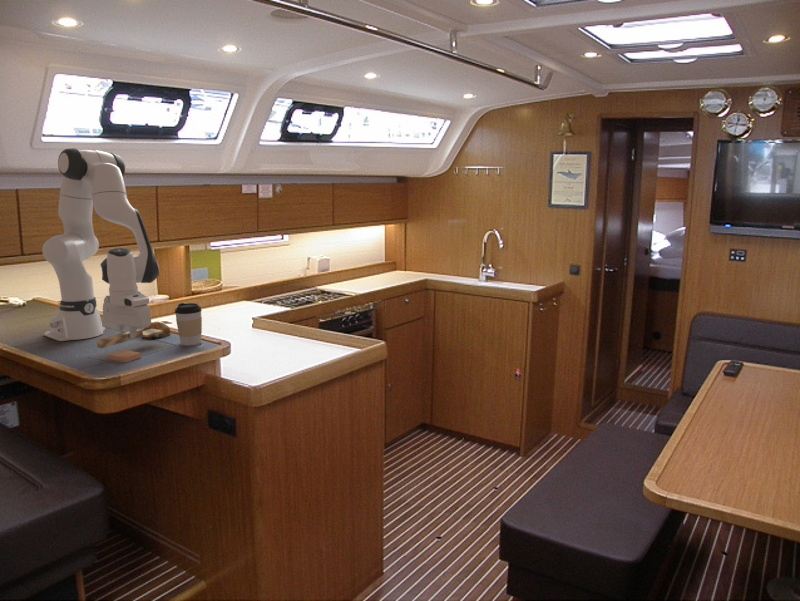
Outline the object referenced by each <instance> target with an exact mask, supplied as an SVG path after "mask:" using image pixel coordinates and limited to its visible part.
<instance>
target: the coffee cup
mask: <svg viewBox="0 0 800 601" xmlns="http://www.w3.org/2000/svg"><path fill="white" fill-rule="evenodd" d="M202 310H203V309H202V307H201V306H200V305H199V304H198V303H194V302H191V303H189V302H188V303H187V302H186V303H185V302H182V303H181V302H180V303H178V305H177V307H176V308H175V309H174V314H175V318H176V319H175V320H176V325H177V326H176V327H177V332H178V336H179V342H180V345H181V346H191V347H193V348H198V347H200V346H202V332H203V331H202V330H203V328H202V327H203V325H202V324H203V320H202Z"/></svg>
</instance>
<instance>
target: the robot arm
mask: <svg viewBox="0 0 800 601" xmlns="http://www.w3.org/2000/svg"><path fill="white" fill-rule="evenodd" d="M57 166H58V170H59V173H60V174H61V175H62V176H63V177H62V180H61V184H60V191H59V200H58V211H57V213H58V217H59V218H60V219H61V222H62V225H63V231H64V232H63V233H62V234H56V235H54V236H52V237H50V238H49V239H48V240H46V241H45V242H44V243H43V245H42V249H41V250H42V252H41V253H42V255H43V258H44V259H45V260H46V261H47V262H48V263H49V264H50V265H51V266H52V267H53V270H54V273H55V274H56V276H57V280H58V284H59V289H60V290H59V291H60V296H61V297H60V300H59V301H58V305H59V311H57V313H56V314H55V315H54V316H53V317H52V318H51V319H50V321H49V326H50V330H47V331H46V332H44V333H43V335H44V336H45V337H48V338H50V339H53V340H56V341H58V342H64V341H75V340H77V341H78V340H85V339H91V338H95V337H99V336H101V335H103V334H104V331H105V330H106V327H105V326H103V323H102V319H103V321H104V323H108V324H114V325H116V326H117V329H118V331H119V333H120V334H122V333H126V332H127V330H126V328H125V327H128V330H129V331H130V333H129V334H128V338H129V339H133V340H135V339H134V338H135V332H136V330H137V329H144V328H146V327H149V326H150V325H151V323H152V314H151V308H150V306H149V305H148V304H150V298H149V297H148V296H147V295H144V294H143V293H142V292H140V291H139V289H138V288H139V287H138V285H137V284H151V283H153V282H154V281H156V279H158V277H159V276H160V265H159V261H158V260H157V258H156V256H155V253H154V250H153V247H152V244H151V242H150V238H149V235H148V232H147V228H146V226H145V223H144V220H143V218H142V216H141V215H142V214H141V213H140V212H139V210H138V209H136V208H134V207H133V206H132V204H131V203H130V201H129V199H128V194H127V189H126V184H125V180H124V176H125V172H126V165H125V162H124V159H123V157H121V156H120V155H119V154H117V153H112V152H106V151H102V150H96V149H81V148H80V149H77V148H75V147H74V148H65V149H63V150H62V151H61V152H60V153H59V156H58V158H57ZM93 209H94V211H95V213H96V214H97V216H99V217H100V218H101V219H103V220H105V221H107V222H110V223H112V224H113V223H114V224H116V225H120V226H124V227H125V228H127V229H129V230H130V231H131V232H132V233H133V236H134V238H135V242H136V246H137V247H138V251H139V254H134V253H133V252H132V250H131V249H129V248H124V247H119V248H113V249H109V250H108V251H107V254H106V258H105V259H103V260H102V262H101V263H99V264H100V267H101V275H102V276H101V280H103V282H105V283H106V284H107V285H108V284H109V287H108V293H109V295H106V296H105V297H104V299H103V304H102V318H101V313H100V311H99V309H98V308H97V298H96V297H95V293H94V284H93V277H92V276H91V275H90V274H89V273H88V272H87V270H86V267H85V266H84V262H83V261H85V260H87V259H90V258H91V257H93V256H94V255H96V253H97V252H98V250H99V248H100V242H99V240H98V237H97V236H96V235H95V231H94V227H93Z"/></svg>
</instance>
